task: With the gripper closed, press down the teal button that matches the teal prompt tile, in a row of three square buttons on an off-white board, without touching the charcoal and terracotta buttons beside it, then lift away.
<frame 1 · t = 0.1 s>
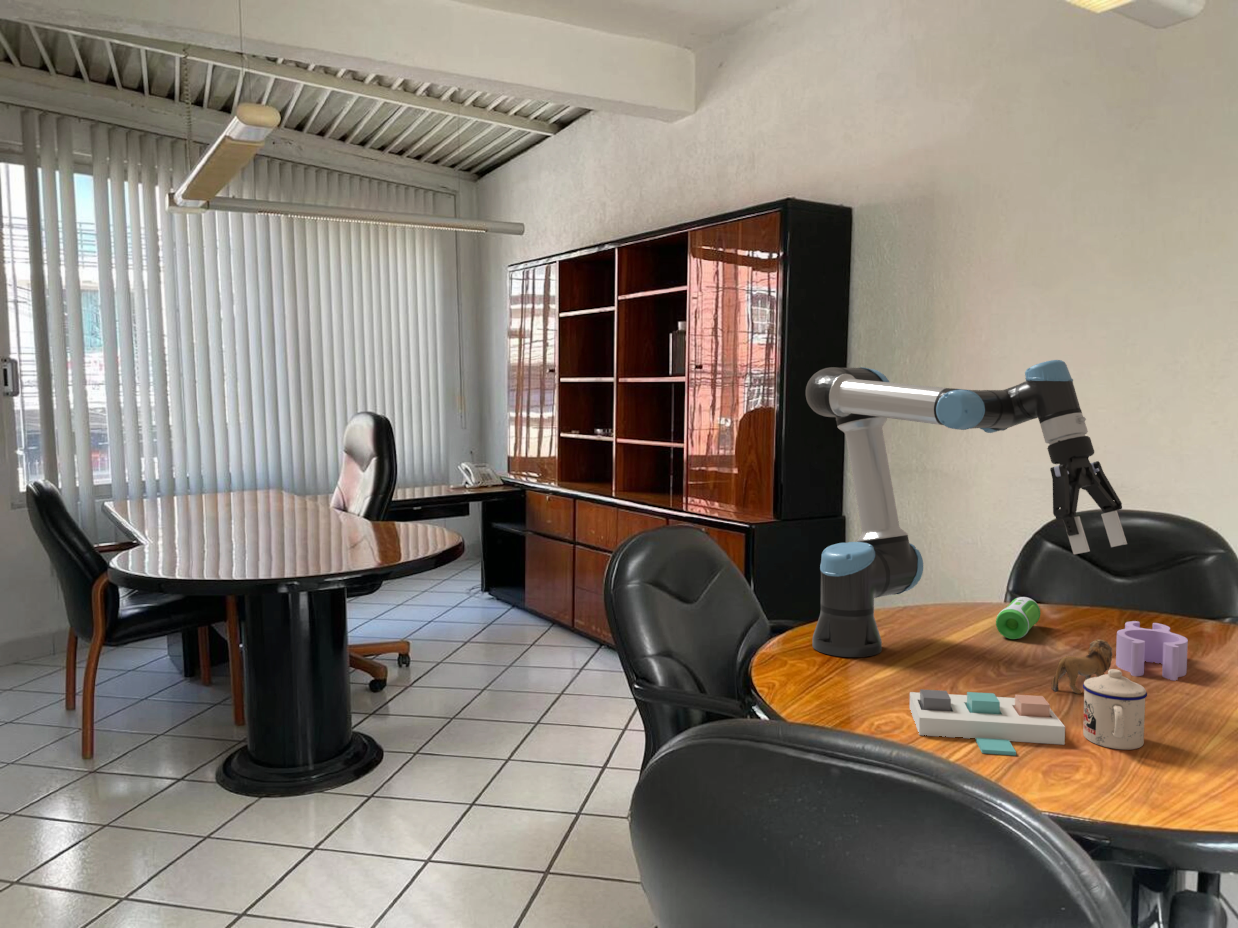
hand: (1101, 549, 161), 28 cm above the table, tool tilted 20°, fingers open, 13 cm apart
button board: (982, 725, 149), on the table
teal button: (982, 705, 148), point 3 cm above the table, slide at 0.0 cm
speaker: (1018, 633, 208), on the table
prompt tile: (995, 747, 139), on the table
lion figurine: (1081, 689, 168), on the table
teacup with lid: (1113, 744, 141), on the table
terracotta button: (1031, 708, 147), point 3 cm above the table, slide at 0.0 cm
clip: (1149, 666, 182), on the table
charcoal button: (935, 703, 150), point 3 cm above the table, slide at 0.0 cm
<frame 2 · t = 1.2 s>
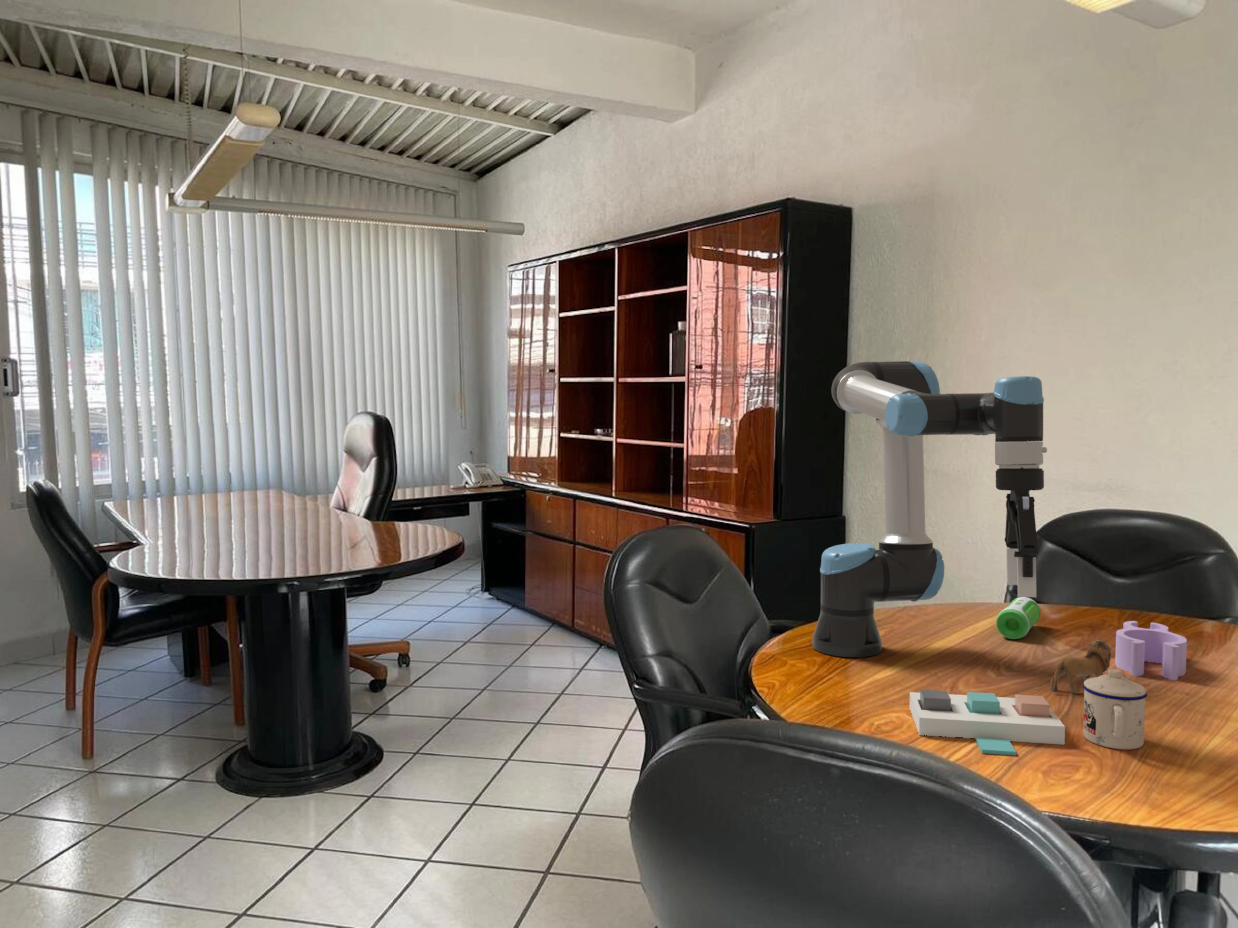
hand: (1021, 590, 149), 23 cm above the table, tool pointing down, fingers open, 13 cm apart
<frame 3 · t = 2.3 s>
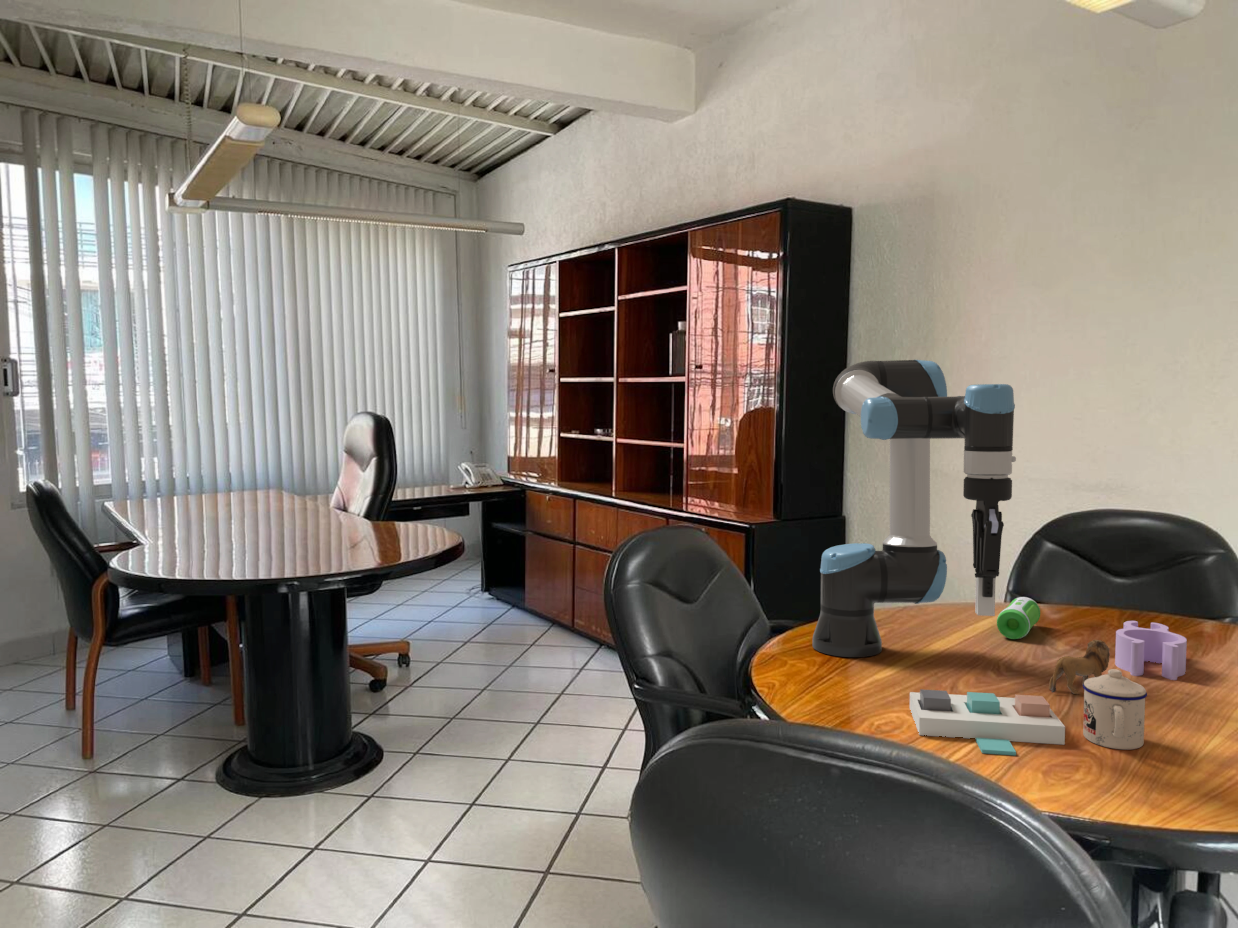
hand: (984, 613, 147), 19 cm above the table, tool pointing down, fingers closed
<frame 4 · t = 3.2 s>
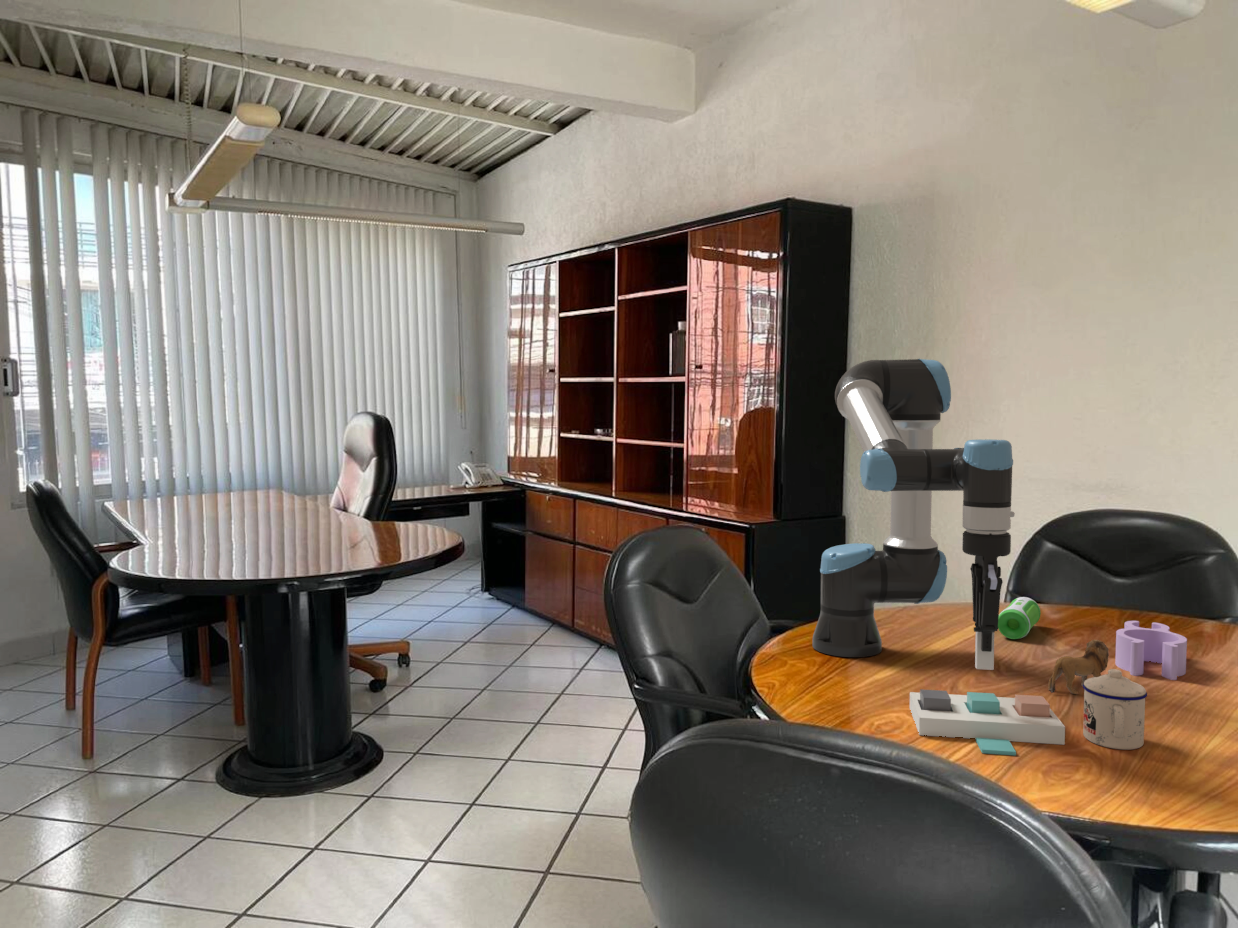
hand: (984, 667, 148), 10 cm above the table, tool pointing down, fingers closed
nothing on the table moved.
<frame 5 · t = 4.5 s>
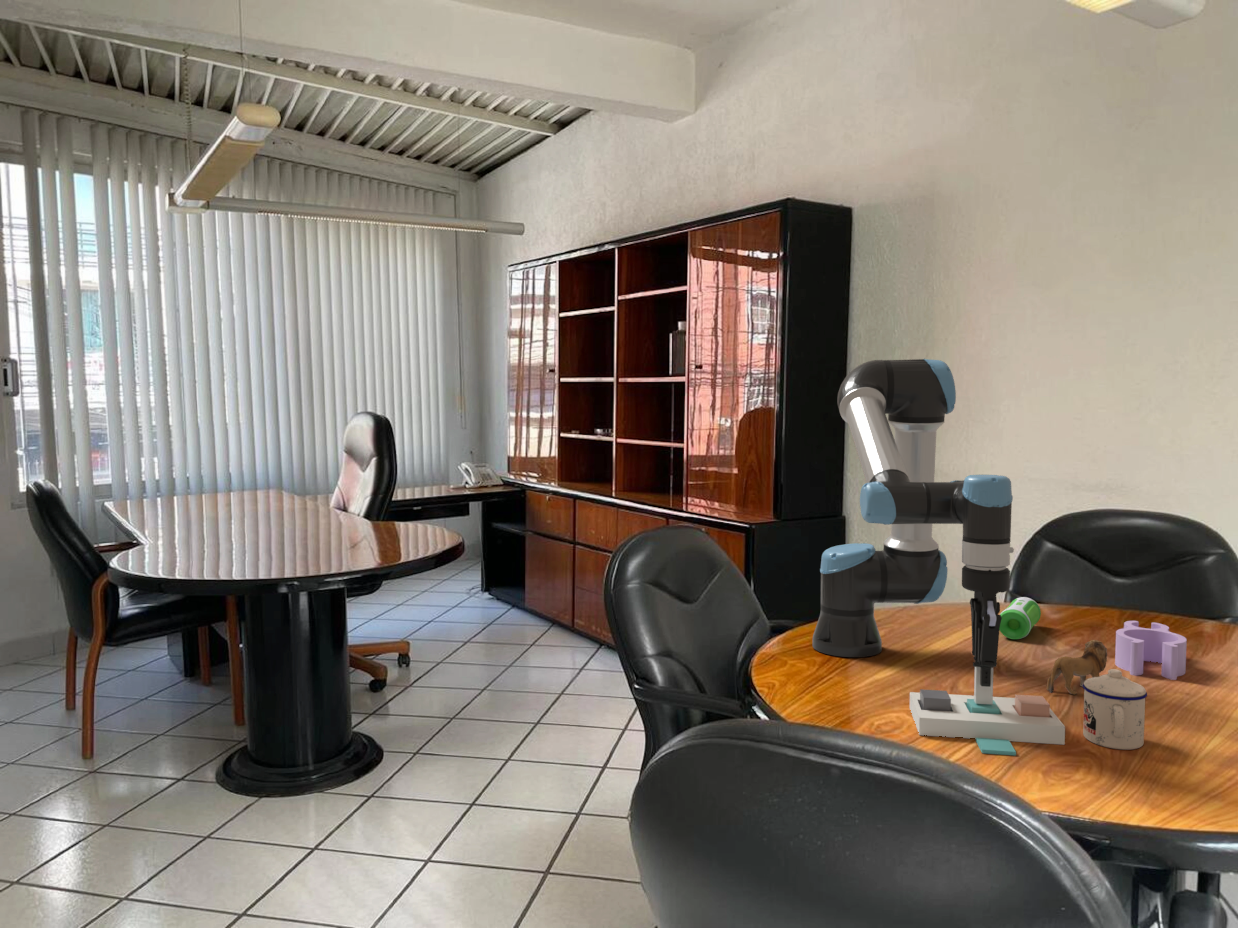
hand: (983, 702, 148), 4 cm above the table, tool pointing down, fingers closed
teal button: (982, 712, 149), point 2 cm above the table, slide at 1.2 cm, touching gripper
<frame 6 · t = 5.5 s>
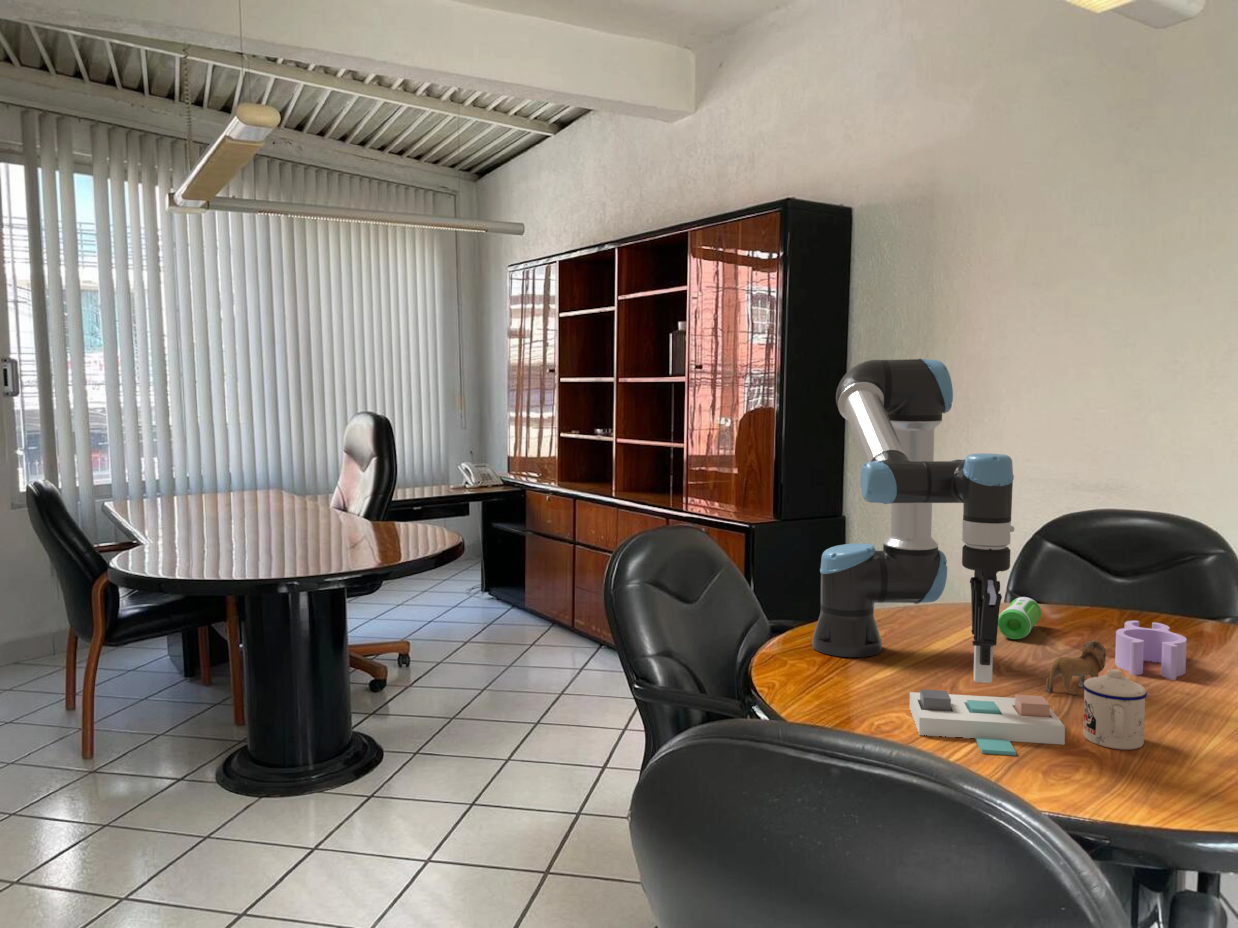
hand: (982, 680, 149), 8 cm above the table, tool pointing down, fingers closed
teal button: (982, 714, 149), point 2 cm above the table, slide at 1.4 cm
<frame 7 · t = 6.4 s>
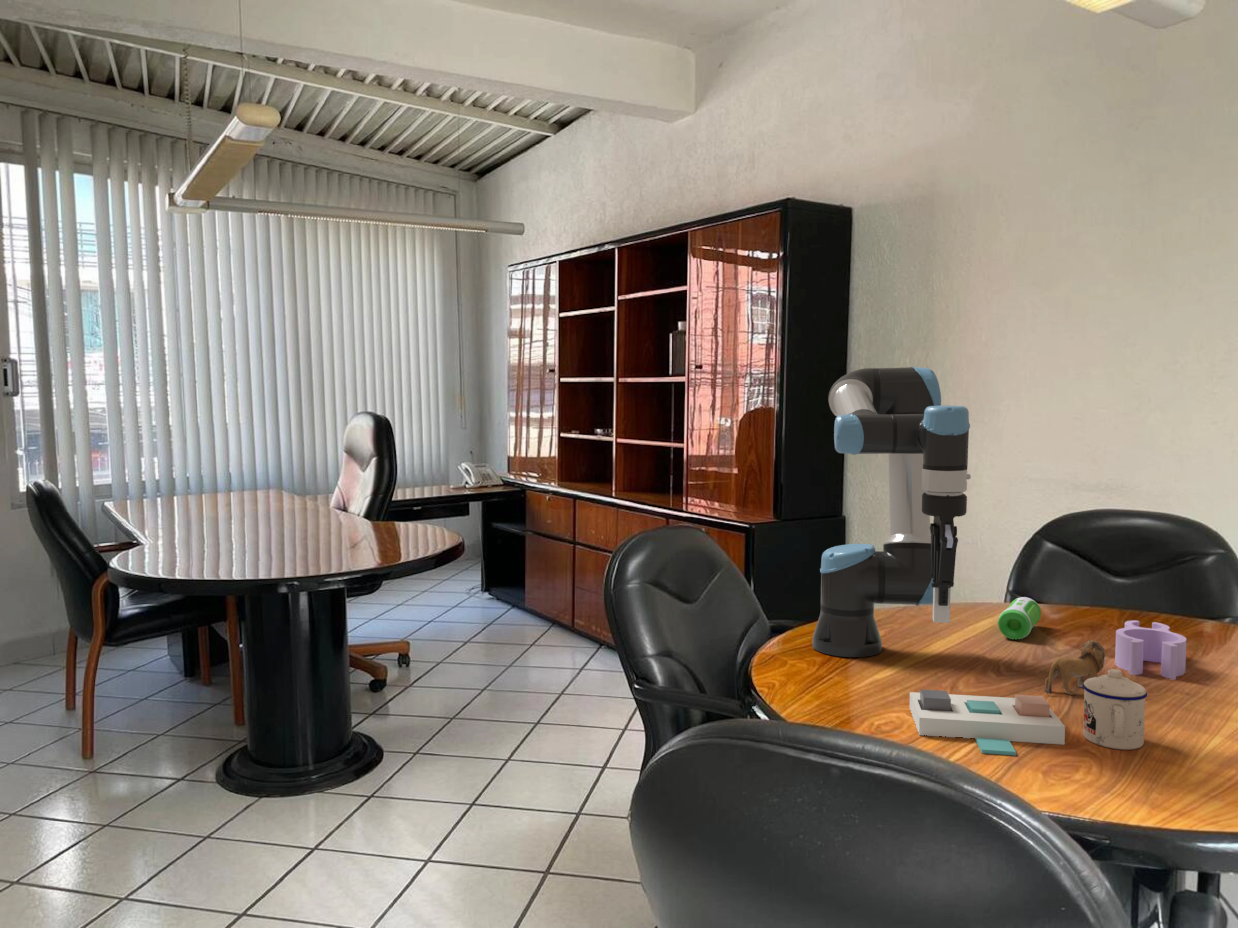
hand: (941, 621, 157), 16 cm above the table, tool pointing down, fingers closed
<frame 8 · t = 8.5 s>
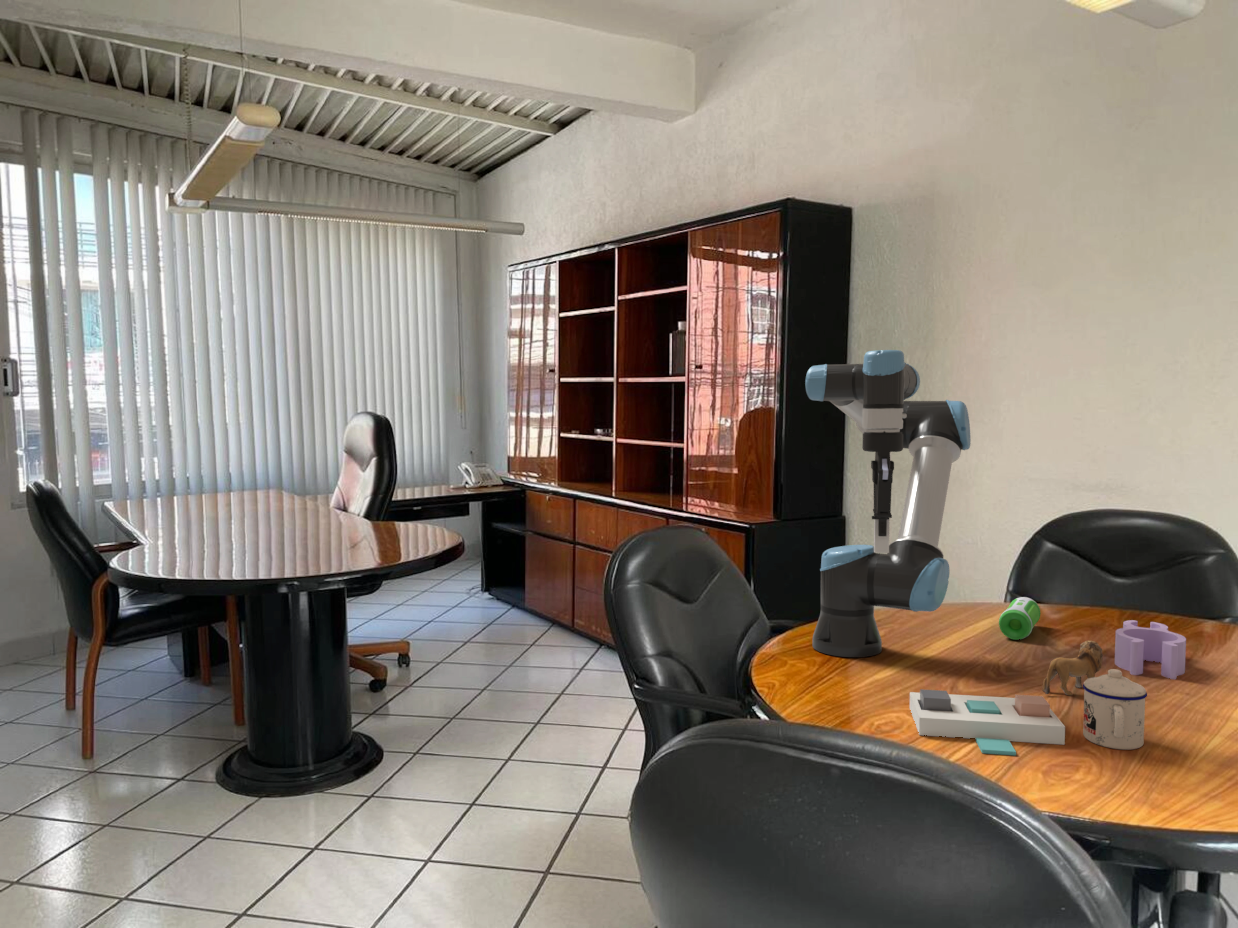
hand: (881, 551, 169), 26 cm above the table, tool pointing down, fingers closed
at the end: teal button slide at 1.4 cm; charcoal button slide at 0.0 cm; terracotta button slide at 0.0 cm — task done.
